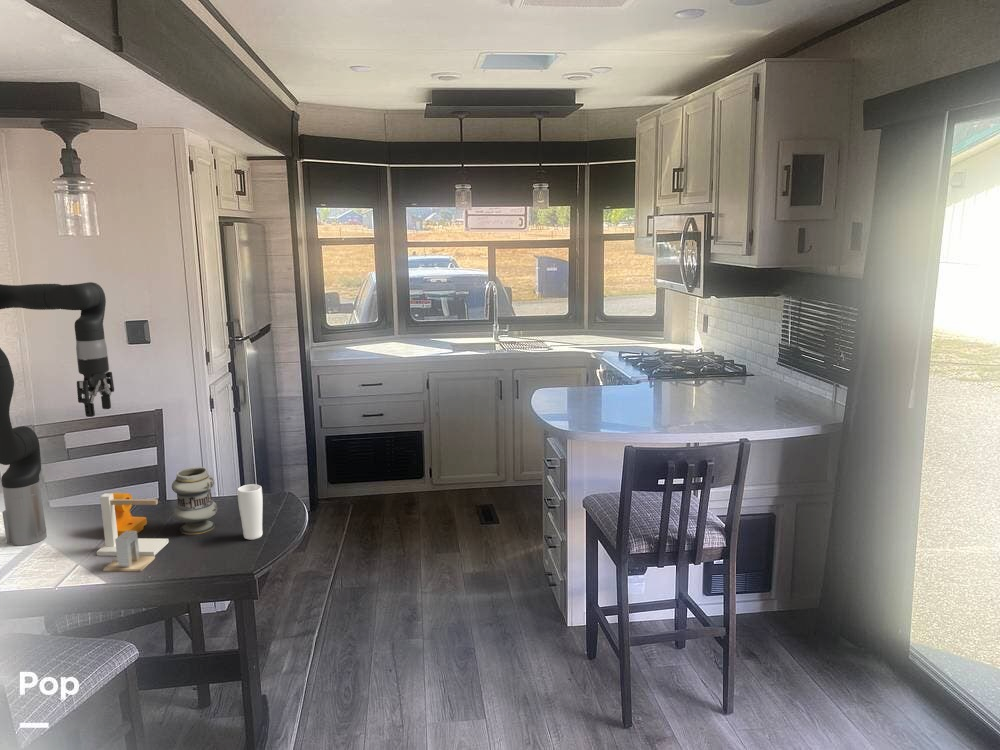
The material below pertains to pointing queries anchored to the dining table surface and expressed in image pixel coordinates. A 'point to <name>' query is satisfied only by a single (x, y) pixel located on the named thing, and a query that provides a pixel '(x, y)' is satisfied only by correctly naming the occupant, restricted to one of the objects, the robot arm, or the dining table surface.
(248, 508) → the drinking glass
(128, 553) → the c link
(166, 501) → the dining table surface
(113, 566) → the cork mat
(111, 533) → the stand
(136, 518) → the bracket
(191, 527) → the apothecary jar
